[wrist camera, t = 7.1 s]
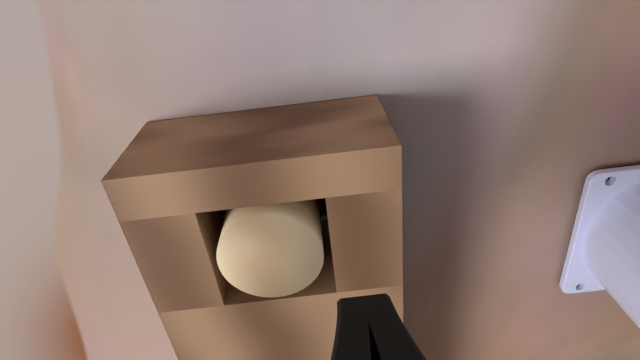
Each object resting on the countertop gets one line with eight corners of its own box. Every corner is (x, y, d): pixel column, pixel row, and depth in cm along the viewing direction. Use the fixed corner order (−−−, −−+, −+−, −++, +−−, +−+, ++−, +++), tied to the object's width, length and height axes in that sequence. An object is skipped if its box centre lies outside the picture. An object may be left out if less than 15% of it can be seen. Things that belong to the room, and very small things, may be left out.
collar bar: (376, 94, 18) (401, 145, 14) (388, 380, 28) (404, 460, 24) (146, 122, 18) (100, 180, 14) (240, 396, 28) (230, 479, 24)
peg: (313, 148, 19) (317, 208, 15) (322, 220, 21) (329, 291, 17) (224, 158, 19) (204, 222, 15) (242, 229, 21) (229, 302, 17)
